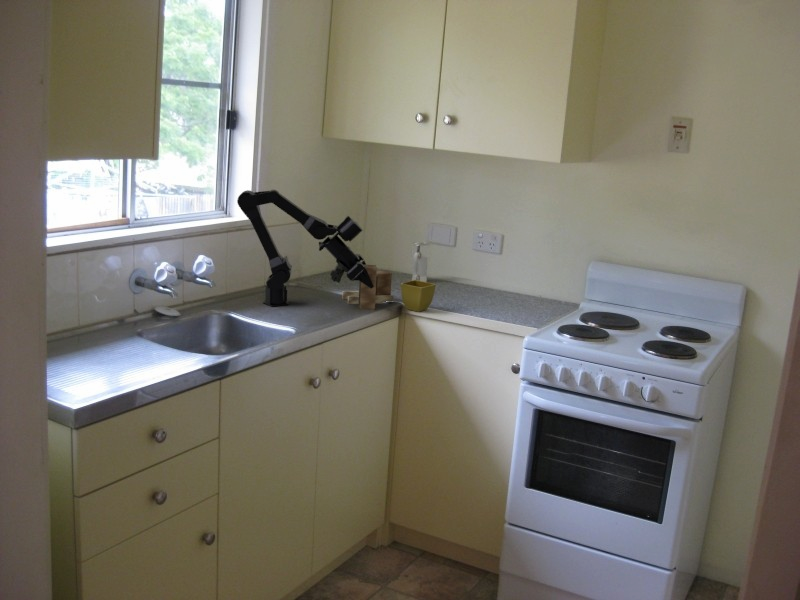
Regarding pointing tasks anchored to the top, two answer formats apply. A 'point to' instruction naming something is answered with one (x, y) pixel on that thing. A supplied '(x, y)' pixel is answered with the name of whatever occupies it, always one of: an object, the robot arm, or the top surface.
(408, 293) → the flower pot
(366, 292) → the finger block
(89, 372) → the top surface
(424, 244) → the soap dispenser bottle
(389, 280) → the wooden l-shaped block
